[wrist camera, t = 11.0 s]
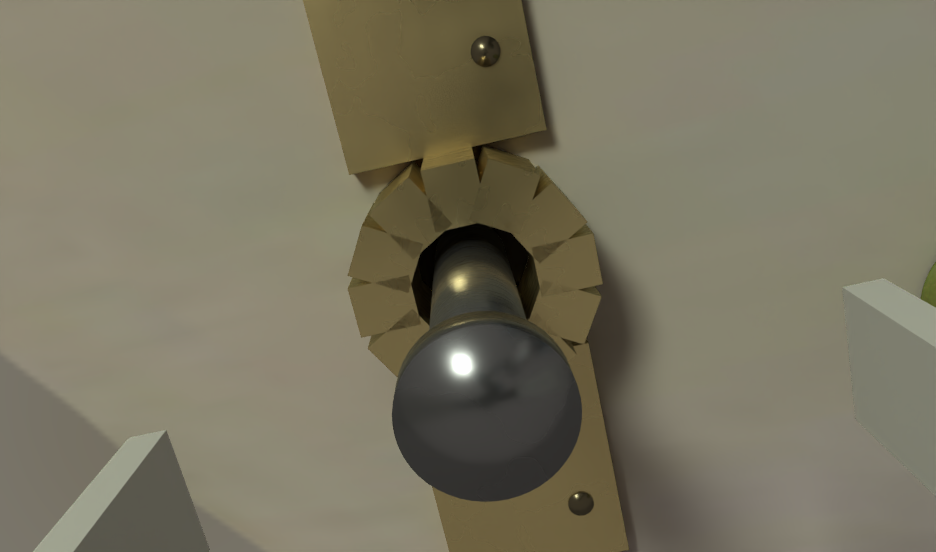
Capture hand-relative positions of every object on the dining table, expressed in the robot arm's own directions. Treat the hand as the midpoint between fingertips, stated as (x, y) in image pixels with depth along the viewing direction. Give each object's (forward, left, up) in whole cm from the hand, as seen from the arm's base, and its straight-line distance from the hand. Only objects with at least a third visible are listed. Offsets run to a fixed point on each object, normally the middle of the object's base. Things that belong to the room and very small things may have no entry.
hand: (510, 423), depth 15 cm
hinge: (0, 0, -15) cm, 15 cm away
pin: (0, 0, -15) cm, 15 cm away
